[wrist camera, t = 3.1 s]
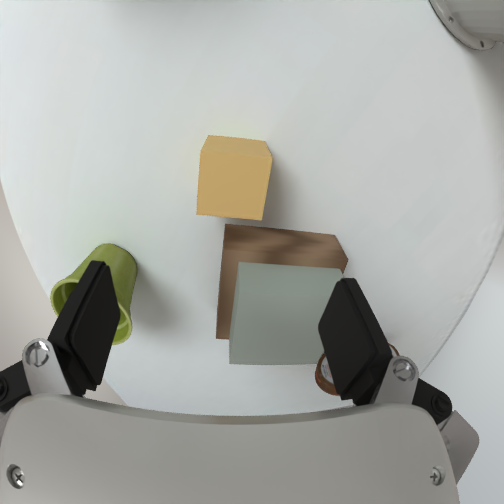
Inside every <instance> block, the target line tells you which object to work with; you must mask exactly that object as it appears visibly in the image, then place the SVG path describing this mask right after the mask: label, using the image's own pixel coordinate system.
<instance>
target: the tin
mask: <svg viewBox="0 0 504 504" xmlns="http://www.w3.org/2000/svg"><path fill="white" fill-rule="evenodd" d="M388 344H389V343H388ZM389 346H390V348H391V351H392V355H393V357H395V356H400V355H399V353H398V351H397V350H396V349H395V347H394V346H392V345H391V344H389ZM315 380H316V382H317V384H318V386H319V387H320V388H321V389H322V390H323V391H324V392H326V393H328V394H331V395H336V396H340V394H339V395H338V394H337V393H336V390H335V386H334V383H333V379H332V376H331V372H330V369H329V365H328V362H327V358H326V355H325V354H324V355H322V357H321V358H320V359H319V361H318V363H317V367H316V371H315Z"/></svg>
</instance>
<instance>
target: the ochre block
mask: <svg viewBox="0 0 504 504" xmlns="http://www.w3.org/2000/svg"><path fill="white" fill-rule="evenodd" d="M272 160H273V158H272V156H271V154H270V152H269V150H268V148H267V145H266V143H265V141H260V140H252V139H244V138H235V137H224V136H213V135H208V137H207V139H206V141H205V143H204V145H203V147H202V149H201V152H200V165H199V179H198V195H197V215H207V216H219V217H230V218H241V219H252V220H262V216H263V210H264V205H265V199H266V193H267V188H268V182H269V177H270V171H271V165H272Z"/></svg>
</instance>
